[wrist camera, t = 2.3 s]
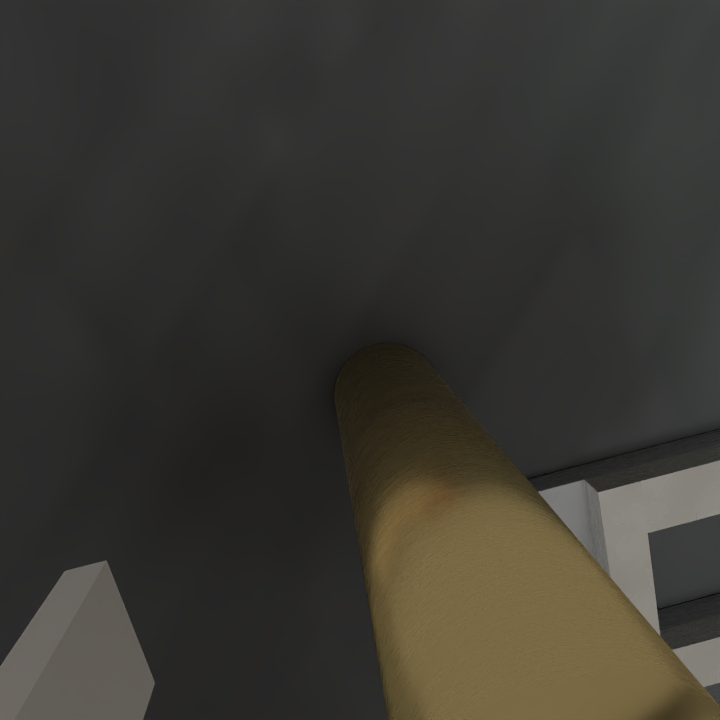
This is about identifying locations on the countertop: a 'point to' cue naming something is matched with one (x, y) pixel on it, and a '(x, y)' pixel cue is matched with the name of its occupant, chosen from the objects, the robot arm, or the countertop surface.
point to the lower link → (573, 509)
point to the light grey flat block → (648, 514)
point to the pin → (484, 571)
